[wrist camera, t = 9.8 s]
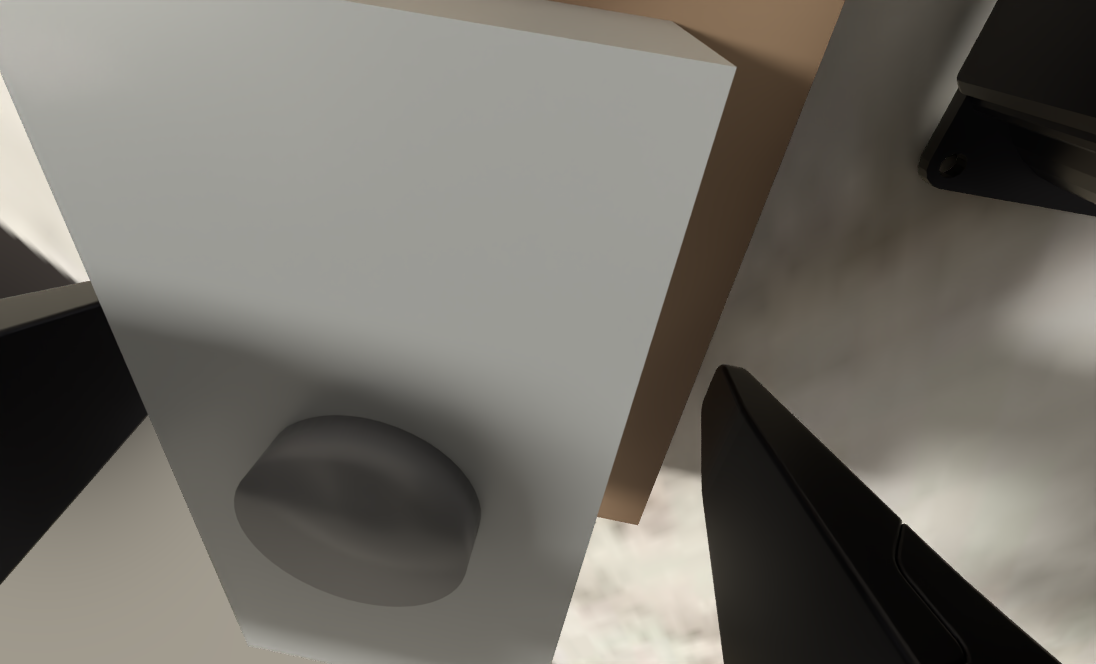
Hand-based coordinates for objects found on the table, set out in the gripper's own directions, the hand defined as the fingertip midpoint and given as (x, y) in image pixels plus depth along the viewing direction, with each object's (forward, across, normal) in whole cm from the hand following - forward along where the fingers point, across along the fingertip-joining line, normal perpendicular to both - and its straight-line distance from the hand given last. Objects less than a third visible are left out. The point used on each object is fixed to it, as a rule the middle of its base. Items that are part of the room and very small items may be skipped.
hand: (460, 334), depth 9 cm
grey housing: (+2, 0, 0) cm, 3 cm away
